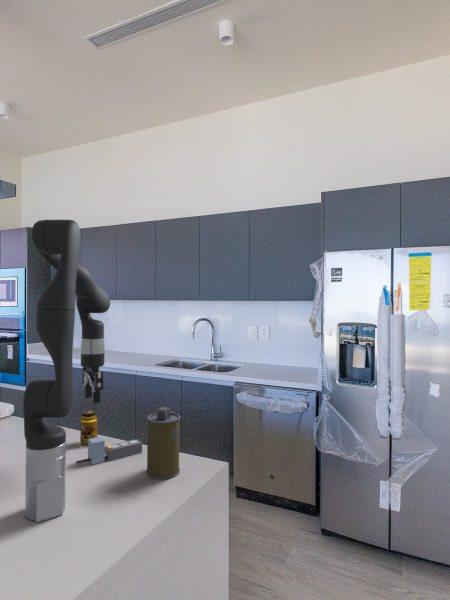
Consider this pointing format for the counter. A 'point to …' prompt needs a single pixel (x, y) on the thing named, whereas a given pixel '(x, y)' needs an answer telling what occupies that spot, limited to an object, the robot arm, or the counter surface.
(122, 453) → the strip
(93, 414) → the condiment
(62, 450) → the robot arm
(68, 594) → the counter surface
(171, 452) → the canister
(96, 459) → the block
